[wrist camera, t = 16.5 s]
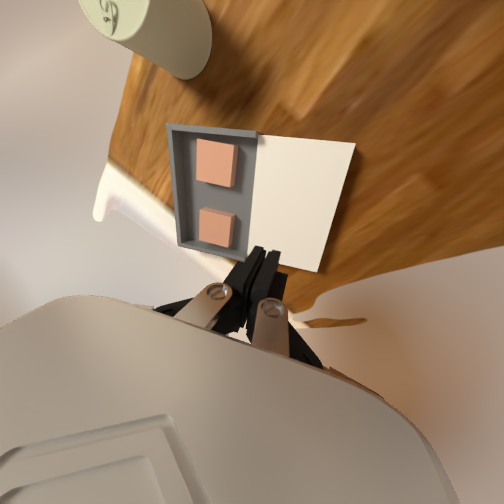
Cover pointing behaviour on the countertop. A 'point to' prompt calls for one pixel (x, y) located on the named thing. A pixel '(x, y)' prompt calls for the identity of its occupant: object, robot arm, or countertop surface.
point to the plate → (296, 196)
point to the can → (157, 31)
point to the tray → (211, 186)
